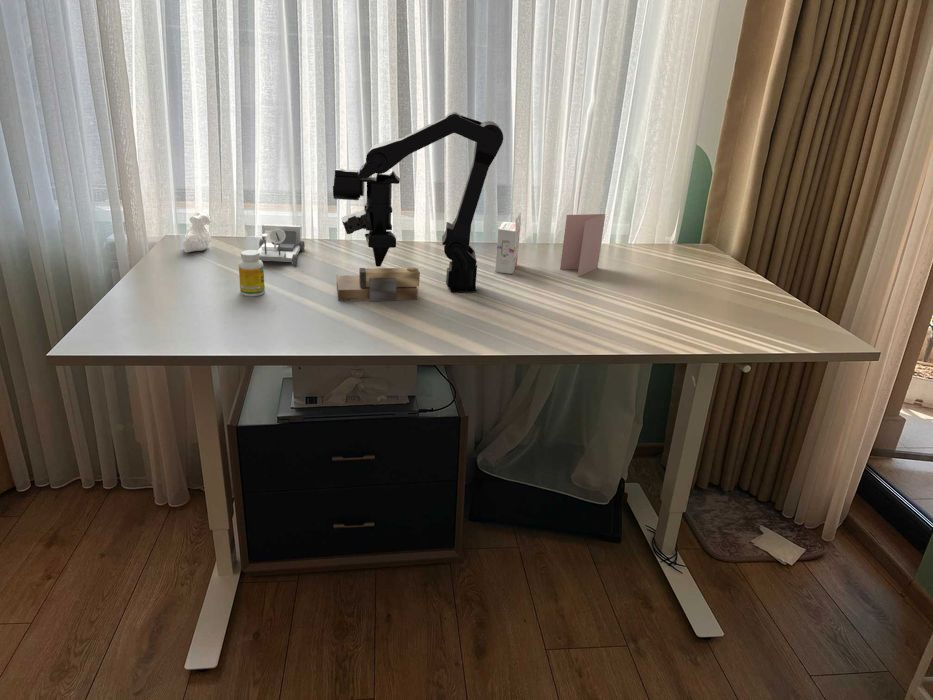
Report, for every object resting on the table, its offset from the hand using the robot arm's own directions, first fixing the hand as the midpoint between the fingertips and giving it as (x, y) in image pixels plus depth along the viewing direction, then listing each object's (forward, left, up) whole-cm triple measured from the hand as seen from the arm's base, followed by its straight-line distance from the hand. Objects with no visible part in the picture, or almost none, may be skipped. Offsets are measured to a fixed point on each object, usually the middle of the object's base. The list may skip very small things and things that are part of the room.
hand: (378, 266), depth 171 cm
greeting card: (-56, -9, -5) cm, 57 cm away
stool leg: (-2, +8, -2) cm, 9 cm away
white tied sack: (+45, -29, -5) cm, 53 cm away
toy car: (+24, -21, -5) cm, 33 cm away
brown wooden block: (+1, +6, -5) cm, 7 cm away
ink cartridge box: (-35, -12, -5) cm, 37 cm away
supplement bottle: (+29, +5, -5) cm, 30 cm away
